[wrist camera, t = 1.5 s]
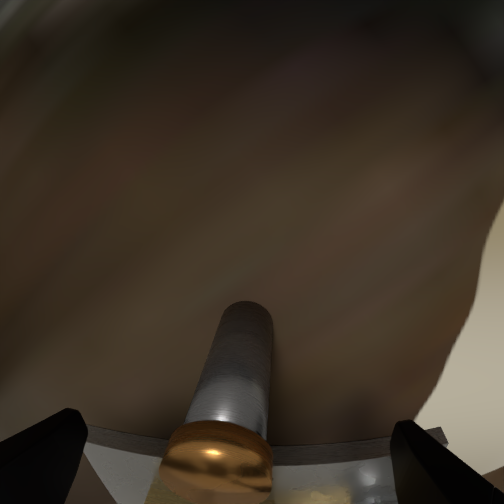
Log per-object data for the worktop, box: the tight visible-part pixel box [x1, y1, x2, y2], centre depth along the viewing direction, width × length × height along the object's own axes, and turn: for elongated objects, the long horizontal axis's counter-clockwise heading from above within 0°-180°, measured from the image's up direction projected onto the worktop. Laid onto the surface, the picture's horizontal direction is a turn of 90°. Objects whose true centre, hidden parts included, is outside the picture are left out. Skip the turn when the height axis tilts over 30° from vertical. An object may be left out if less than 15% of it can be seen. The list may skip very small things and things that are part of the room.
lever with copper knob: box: [159, 301, 273, 504], centre depth 10 cm, size 3×3×8 cm
